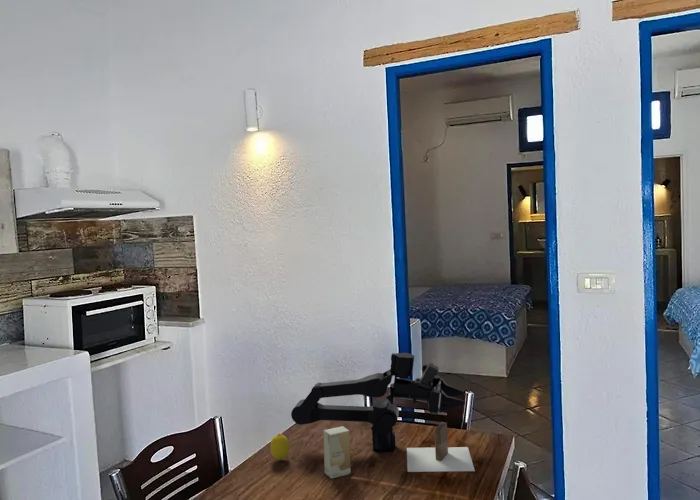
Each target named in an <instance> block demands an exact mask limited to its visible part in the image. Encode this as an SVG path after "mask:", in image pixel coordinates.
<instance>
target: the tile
mask: <svg viewBox="0 0 700 500" xmlns="http://www.w3.org/2000/svg"><path fill="white" fill-rule="evenodd" d="M448 441H449V439H448V422H446V421H441V422H440V423H439V424H437V426H436V427H435V428H434V447H435V455H436V460H438V461H442V460H443V459H444V457H445V456H446V455H447V454H448V447H449V446H448V443H449V442H448Z"/></svg>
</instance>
